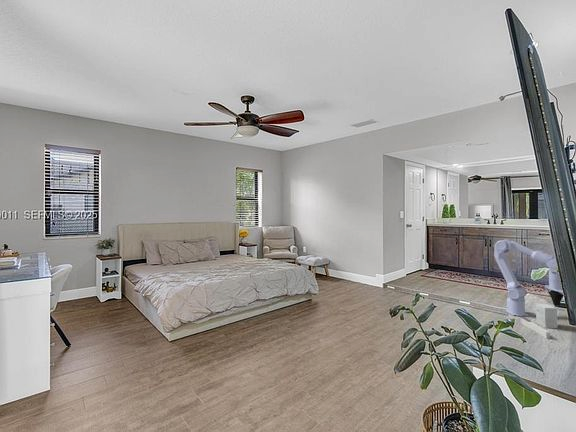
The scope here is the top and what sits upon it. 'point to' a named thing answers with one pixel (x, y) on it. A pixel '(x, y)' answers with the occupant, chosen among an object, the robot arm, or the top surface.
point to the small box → (546, 315)
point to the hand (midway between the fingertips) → (556, 305)
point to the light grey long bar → (535, 327)
